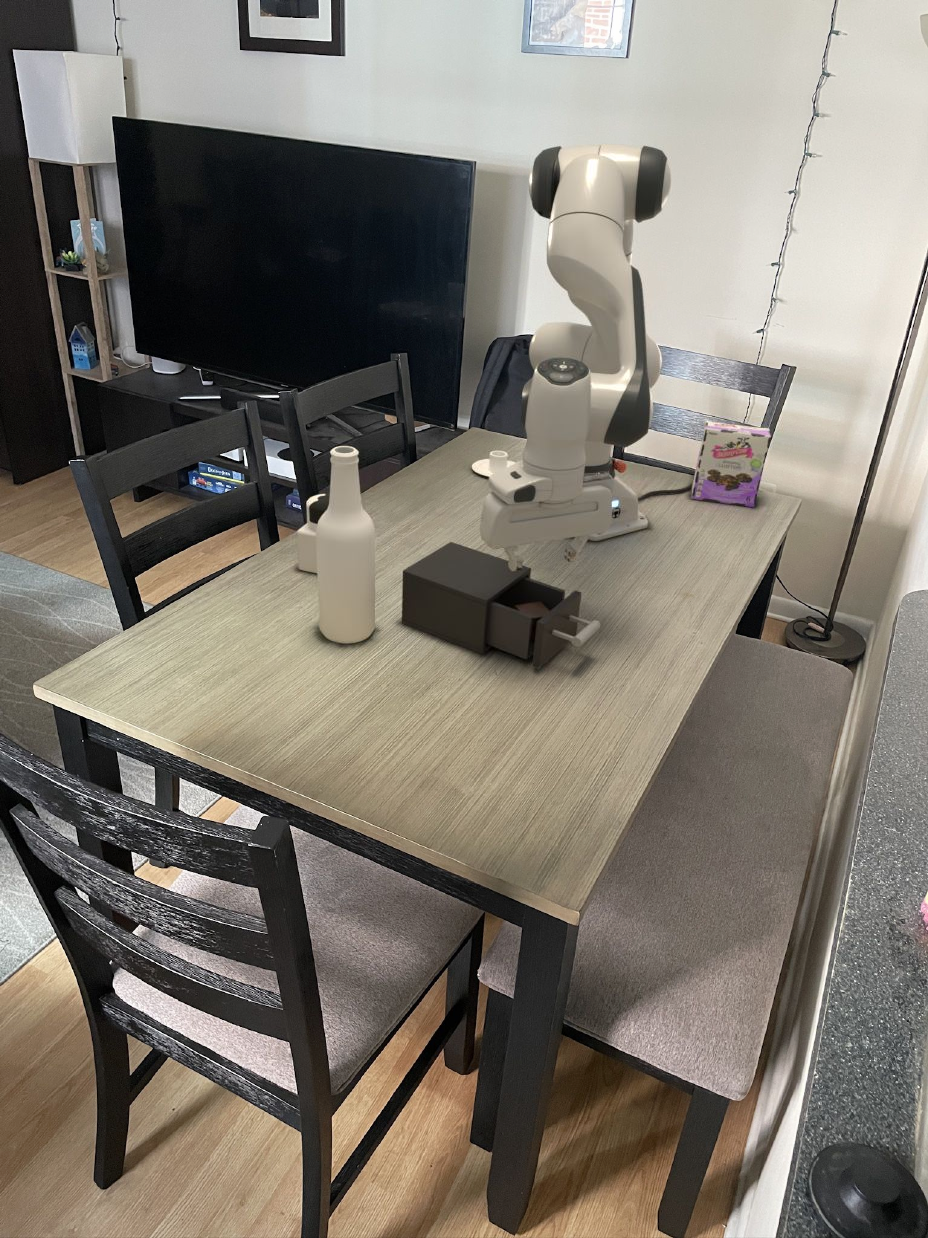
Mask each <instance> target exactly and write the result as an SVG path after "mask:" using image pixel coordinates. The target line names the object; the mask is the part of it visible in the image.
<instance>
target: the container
mask: <svg viewBox="0 0 928 1238" xmlns="http://www.w3.org/2000/svg"><path fill="white" fill-rule="evenodd" d="M329 501H330V493H320V494H319V493H318V494H316V495H313V496H310V497H309V498H308V500H306V523H305V524H304V525H303V526H301V527H299V529H297V530H296V543H297V545H296V546H297V562H298V563H297V564H298V565H297V566H298V570H300V571H303V572H309V573H314V574H317V548H316V529H317V525H318V521H319V519H320V518H321V516H322V515H323V514H324V513H325V511H326V510H327V509H328V506H329Z"/></svg>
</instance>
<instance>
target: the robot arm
mask: <svg viewBox="0 0 928 1238" xmlns="http://www.w3.org/2000/svg"><path fill="white" fill-rule="evenodd" d="M528 179H529V180H528V192H529V197H530V201H531V205H532V209H533V210H534V211H535V213H537V214H538V216H540V217H542V218H544V219H548V220H549V223H548V230H547V237H546V238H547V239H546V264H547V265H546V266H547V267H548V270H549V272H550V275H551V276H552V277H553V280H554V281H555V282H556V283H557V284H558V285H559V286H560V287H561V288H562V289H564V290H565V291H566V292H567V296H568V298H569V301H570V302H571V304H572V305H574V306H575V307H576V308H577V309H578V311H580V312H582V313H583V315H584V316H585V317H586V318H587V320H588V321H589V323H590V325H587V324H583V323H576V322H570V321H559V322H545V323H543V324H542V325H541V326H539V328H538V329H537V330H536V331H535V332H534V333H533V335H532V337H531V340H530V342H529V348H528V357H529V362H530V365H531V367H532V369H533V375H532V377H531V378H530V379H529V380H528V381H527V382H526V383H525V384H524V386H523V387H522V395H521V411H520V424H521V425H522V427H523V429H524V430H525V433H526V443H525V446H524V448H523V452H522V459H521V460H518V461H517V462H515V464H513V465H511V466H509V467H507V468H505V469H503V470H501V471H498V472H496V473H494V474H492V475H491V476H490V477H489V476H488V482H487V483H488V485H487V486H488V487H489V489H490V490H491V492H489V493H488V494H487V496H486V497H485V499H484V501H483V505H482V510H481V518H480V527H479V535H480V538H481V540H482V541H483V542H484V544H485V545H487V546H488V547H489V548H491V549H492V550H498V549H499V550H500V549H503V550H504V552H505V553H506V556H507V557H508V561H509V562H508V566H509V569H510V570H511V571H518V570H522V565H523V563H524V560H523V558H520V556H519V555H518V554H517V555H515V552H518V547H520V546H524V545H525V546H526V545H529V544H530V545H531V544H539V543H544V542H551V541H557V540H564V539H571V538H573V540H572V542H571V543H570V545H569V546H568V547H564V555H563V556H564V560H566V561H567V562H568V563H572V562H577V561H579V556H580V552H581V551H582V549H583V548H584V546H585V545H586V543H587V542H588V541H591V542H592V541H593V542H598V541H602V540H607V539H610V538H614V537H618V536H622V535H625V534H628V533H633V532H636V531H639V530H644V529H646V528H647V529H648V526H649V521H648V518H647V517H646V515H645V514H643V512H641V511H640V510H639V502H640V501H642V500H645V499H646V498H648V497H651V496H654V495H664V494H679V493H683V492H687V491H689V490H690V489H692V485H693V481H692V482H691V483H690V484H689V485H688V486H686V487H683V488H678V489H662V490H661V489H659V490H652V491H649V492H646V493H645V494H643V495H641V496H640V497H638V495H637V494H636V492H635V491H634V490H633V489H632V488H631V487H630V486H629V485H628V484H626V482H625V481H623V480H622V479H621V478H620V477H619V476H618V475H616V471H617V472H618V473H619V474H623V473H625V471H627V469H628V466H627V464H626V463H625V462H622V460H616V458H614V457H612V456H611V454H612V446H615V447H620V448H628V447H630V446H632V445H633V444H635V443H637V442H638V441H640V440H641V439H642V438H644V437H645V436H646V435H647V434H648V433H649V430H650V427H651V425H652V421H653V417H654V416H653V414H654V399H653V394H652V390H651V389H652V388H653V387H654V386H655V385H656V383H657V382H658V379H659V378H660V375H661V372H662V369H663V356H662V353H661V349H660V347H659V346H658V344H657V342H656V341H654V339H652V338H651V337H650V335H649V334H648V333H647V328H646V314H645V313H646V311H645V300H644V289H643V281H642V277H641V274H640V271H639V270H638V269H637V268H636V267H634V266H633V263H632V261H633V250H634V249H633V248H634V221H636V223H637V224H640V223H642V222H643V221H648V220H652V219H654V218H655V217H656V216H657V215H658V214H660V213H661V212H662V211H663V207H664V205H665V204H666V202H667V200H668V197H669V194H670V191H671V185H672V174H671V169H670V165H669V163H668V157H667V155H666V154H665V152H664V151H663V150H662V149H660V148H657V147H652V146H649V145H643V146H642V147H639V146H634V145H626V144H616V143H614V144H613V143H601V144H595V145H594V144H589V145H588V144H587V145H577V146H569V147H562V146H561V145H559V146H553V147H552V146H551V147H548V148H546V149H543V150H541V151H540V152H539V154H537V156H536V157H535V158H534V161H533V165H532V167H531V170H530V173H529V177H528ZM695 471H696V469H695V470H694V473H693V476H694V475H695Z"/></svg>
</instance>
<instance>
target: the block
mask: <svg viewBox="0 0 928 1238" xmlns="http://www.w3.org/2000/svg"><path fill="white" fill-rule="evenodd" d="M515 610H518V611H521V612H523V613H526V614H529V615H532V616H534V617H533V627H532V636H531V643H535V635H536V626H537V621H539V620H540V619H541V618H542V617H543V616H545V615H546V614H547V613H548V612H550V611H549V610H548V609H547V608H546V607H545V606H544V605H543V604H542V603H541V602H540V601H539V602H533V603H527V604H521V605H515Z"/></svg>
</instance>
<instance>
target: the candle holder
mask: <svg viewBox="0 0 928 1238" xmlns="http://www.w3.org/2000/svg"><path fill="white" fill-rule="evenodd" d="M508 454H509V453H508V452H506V451H503V450H493V451H491V452H489V458H484V459H479V460H477V461H475V462H473V463H472V465H471V469H472V470H473V471H474V472H475V473H477V474H479V475H482V476H484V477H488V478H489V477H490V476H491V475H492V474H494V473H496V472H498V471H501V470H503V469H505V468H507V467H509V466H511V465H513V464H515V463H516V461H512V460H508V459H509V458H508V457H509V455H508Z"/></svg>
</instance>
